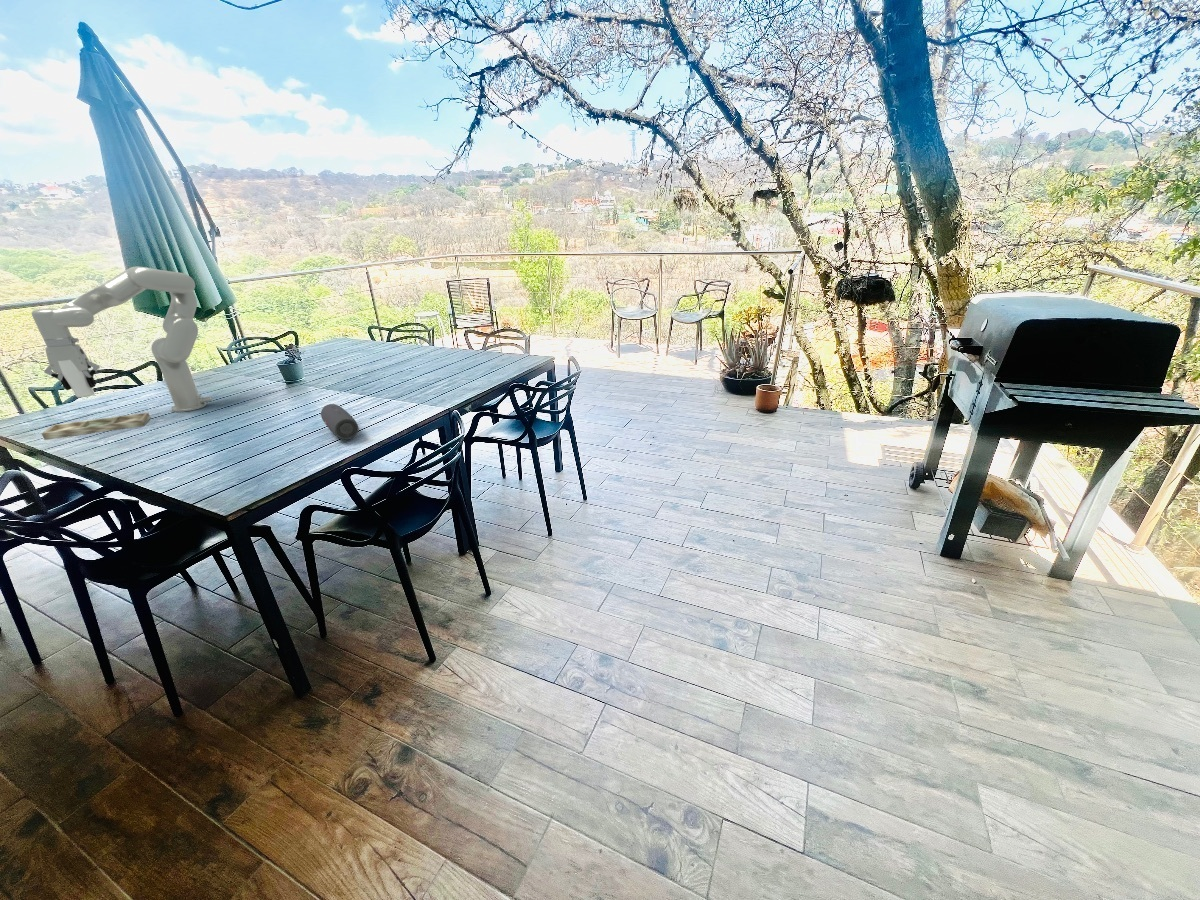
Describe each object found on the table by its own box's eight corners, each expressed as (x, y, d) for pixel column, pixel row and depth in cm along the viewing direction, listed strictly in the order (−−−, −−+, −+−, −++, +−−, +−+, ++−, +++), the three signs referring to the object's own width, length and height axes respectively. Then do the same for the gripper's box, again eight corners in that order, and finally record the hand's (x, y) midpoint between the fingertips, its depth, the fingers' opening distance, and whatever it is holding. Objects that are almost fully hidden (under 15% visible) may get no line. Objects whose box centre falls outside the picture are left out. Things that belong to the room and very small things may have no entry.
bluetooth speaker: (322, 428, 195) (316, 405, 191) (346, 423, 200) (341, 400, 196) (336, 445, 179) (330, 420, 175) (362, 439, 185) (357, 414, 180)
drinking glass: (82, 398, 187) (63, 361, 180) (69, 398, 188) (50, 360, 182) (102, 393, 193) (84, 356, 186) (89, 393, 194) (71, 356, 188)
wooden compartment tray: (150, 418, 207) (148, 412, 206) (143, 425, 198) (141, 420, 197) (56, 430, 194) (53, 424, 193) (44, 439, 185) (41, 433, 184)
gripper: (94, 338, 188) (113, 382, 195) (33, 343, 181) (55, 388, 188) (86, 342, 182) (107, 387, 189) (23, 346, 175) (46, 393, 182)
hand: (81, 387), depth 189 cm, fingers closed on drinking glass, 6 cm apart
